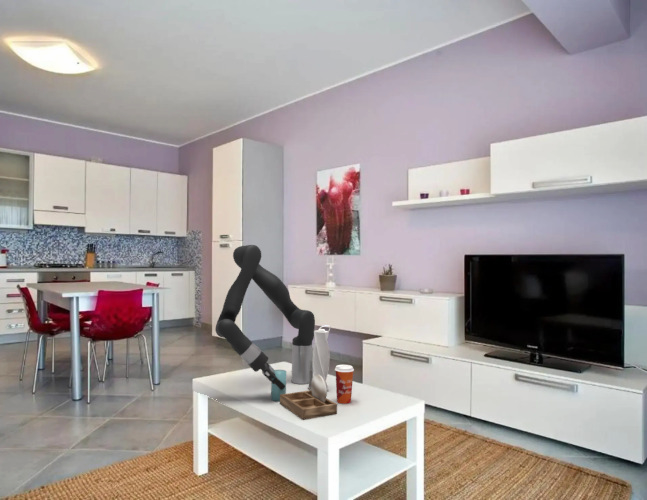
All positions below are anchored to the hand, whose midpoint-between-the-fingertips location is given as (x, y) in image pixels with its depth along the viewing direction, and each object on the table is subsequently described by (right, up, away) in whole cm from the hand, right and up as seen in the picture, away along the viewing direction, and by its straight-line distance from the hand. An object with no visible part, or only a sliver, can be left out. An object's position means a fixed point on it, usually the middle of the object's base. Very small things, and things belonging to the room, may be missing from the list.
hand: (282, 385), depth 180 cm
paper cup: (+25, -6, -3) cm, 26 cm away
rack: (+10, -5, -12) cm, 17 cm away
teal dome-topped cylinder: (-2, -5, 0) cm, 5 cm away
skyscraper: (+15, -6, +12) cm, 20 cm away
